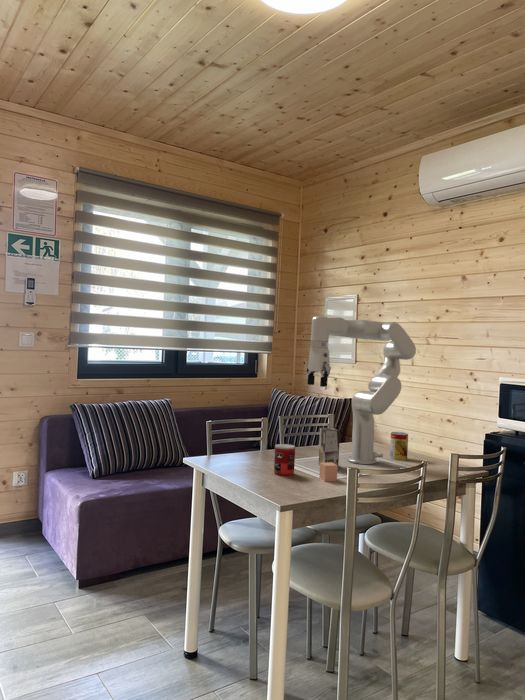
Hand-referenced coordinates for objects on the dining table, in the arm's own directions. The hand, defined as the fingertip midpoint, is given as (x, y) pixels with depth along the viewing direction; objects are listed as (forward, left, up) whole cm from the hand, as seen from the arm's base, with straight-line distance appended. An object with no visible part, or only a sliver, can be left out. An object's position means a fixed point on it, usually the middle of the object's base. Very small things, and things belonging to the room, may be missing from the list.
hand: (317, 385), depth 223 cm
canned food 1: (+18, +13, -34) cm, 41 cm away
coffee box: (-5, +4, -34) cm, 35 cm away
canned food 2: (-46, -8, -34) cm, 58 cm away
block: (+4, +24, -34) cm, 42 cm away
